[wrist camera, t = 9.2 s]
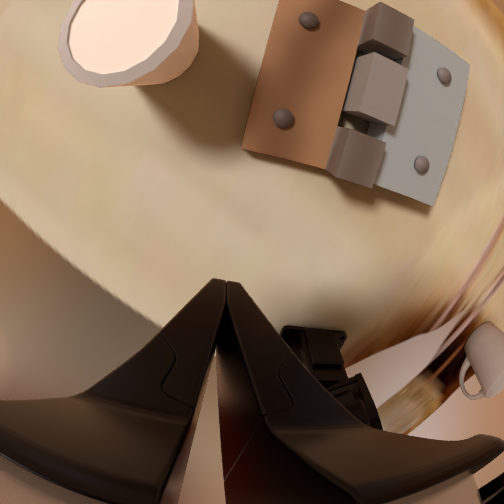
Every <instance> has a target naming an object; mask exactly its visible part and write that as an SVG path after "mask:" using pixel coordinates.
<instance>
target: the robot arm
mask: <svg viewBox="0 0 504 504" xmlns="http://www.w3.org/2000/svg"><path fill="white" fill-rule="evenodd" d="M286 331H288V332H286ZM341 336H342V337H341ZM346 338H347V335H346V333H345V332H343V331H334V330H323V329H314V328H305V327H296V326H284V327H283V328H282V329H281V332H280V334H279V333H278V332H277V331H276V330H275V328H274V327H273V326H272V324H271V323H270V322H269V321H268V319H267V318H266V317H265V315H264V314H263V313H262V311H261V310H260V309H259V307H258V306H257V305H256V304H255V302H254V301H253V300H252V298H251V297H250V296H249V294H248V293H247V292H246V290H245V289H244V288H243V286H242V285H241V284H240V283H238V282H233V281H227V282H226V281H225V280H221V279H216V278H213V279H211V280H210V281H209V282H208V283H207V284H206V285H205V286H204V287H203V288H202V289H201V290H200V291H199V292H198V293H197V294H196V295H195V296H194V297H193V298H192V299H191V300H190V301H189V302H188V303H187V304H186V305H185V306H184V307H183V308H182V309H181V310H180V311H179V312H178V313H177V314H176V315H175V316H174V317H173V318H172V319H171V320H170V321H169V322H168V323H167V324H166V325H165V326H164V327H163V328H162V329H161V330H160V331H159V333H157V334H156V335H155V336H154V337H153V338H152V339H151V341H149V342H148V343H147V344H146V345H145V346H144V347H143V348H142V349H141V350H140V351H138V352H137V353H136V354H134V355H133V356H132V357H131V358H129V359H128V360H127V361H126V362H124V363H123V364H122V365H120V366H119V367H118V368H116V369H115V370H113V371H112V372H111V373H110V374H108V375H107V376H105V377H104V378H103V379H101V380H100V381H99V382H97V383H96V384H94V385H93V386H92V387H90V388H89V389H87V390H85V391H84V392H81V393H79V394H77V395H73V396H69V397H60V398H48V399H30V400H0V504H178V500H179V496H180V492H181V488H182V483H183V479H184V475H185V471H186V467H187V463H188V459H189V454H190V450H191V446H192V442H193V438H194V434H195V430H196V426H197V422H198V417H199V414H200V410H201V406H202V401H203V398H204V394H205V389H206V386H207V382H208V377H209V374H210V370H211V366H212V362H213V358H214V354H215V349H216V366H217V367H216V368H217V390H218V407H219V424H220V439H221V453H222V466H223V477H224V489H225V499H226V504H504V472H503V473H502V474H500V475H499V476H498V477H496V478H495V479H493V480H492V481H491V482H489V483H487V484H486V485H484V486H483V487H481V488H480V489H478V488H477V485H476V482H475V479H474V477H473V474H474V473H476V472H477V471H478V470H480V469H481V468H483V467H484V466H486V465H487V464H488V463H490V462H491V461H492V460H494V459H495V458H496V457H497V456H499V455H500V454H501V453H502V452H503V451H504V441H503V440H502V439H500V438H498V437H494V436H490V435H484V434H478V435H476V436H473V437H471V438H469V439H465V440H460V441H443V440H434V439H427V438H420V437H414V436H408V435H403V434H397V433H392V432H387V431H383V429H382V425H381V421H380V418H379V415H378V412H377V409H376V406H375V404H374V401H373V399H372V397H371V394H370V392H369V390H368V388H367V385H366V383H365V381H364V379H363V377H362V374H361V373H359V374H356V375H355V376H354V377H351V378H348V377H347V374H346V371H345V368H344V365H343V364H344V361H343V358H342V355H341V352H340V349H341V347H342V345H343V343H344V342H345V340H346Z"/></svg>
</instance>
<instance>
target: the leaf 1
mask: <svg viewBox="0 0 504 504" xmlns="http://www.w3.org/2000/svg"><path fill="white" fill-rule="evenodd" d="M413 25H414V19H412V18H410V17H408V16H407V15H405V14H403V13H401V12H399V11H397V10H396V9H394V8H392V7H390V6H388V5H386V4H384V3H382V2H379V3H377V4H376V5H374V6H373V7H371V8H369V9H368V10H366V11H364V10H362V9H359V8H357V7H355V6H352V5H350V4H347V3H345V2H342V1H339V0H279V4H278V7H277V11H276V14H275V18H274V21H273V25H272V28H271V32H270V35H269V39H268V42H267V46H266V50H265V54H264V57H263V61H262V65H261V69H260V72H259V76H258V80H257V84H256V88H255V92H254V96H253V100H252V104H251V108H250V112H249V116H248V120H247V124H246V128H245V132H244V136H243V141H242V145H241V149H245V150H250V151H255V152H259V153H263V154H268V155H272V156H276V157H280V158H284V159H288V160H292V161H296V162H300V163H304V164H307V165H311V166H315V167H318V168H322V169H325V170H326V171H328V172H329V173H331V174H332V175H333V176H335V177H336V178H340V179H343V180H346V181H350V182H353V183H356V184H359V185H362V186H365V187H369V188H372V187H373V184H374V181H375V178H376V175H377V172H378V169H379V166H380V163H381V160H382V156H383V153H384V150H385V146H386V142H384V141H381V140H379V139H376V138H374V137H371V136H369V135H366V134H363V133H361V132H358V131H355V130H353V129H349V128H344V127H339V126H337V125H338V122H339V118H340V114H341V111H342V107H343V103H344V99H345V96H346V92H347V88H348V84H349V80H350V76H351V72H352V68H353V64H354V60H355V56H356V51H359V52H361V53H363V54H369V53H372V52H376V53H378V54H380V55H382V56H384V57H386V58H388V59H390V60H394V59H398V58H403V57H407V56H408V53H409V48H410V42H411V37H412V31H413Z"/></svg>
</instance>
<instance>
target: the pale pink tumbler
mask: <svg viewBox="0 0 504 504" xmlns="http://www.w3.org/2000/svg"><path fill="white" fill-rule="evenodd" d="M198 49H199V31H198V24H197V17H196V10H195V3H194V0H74V1H73V3H72V4H71V6H70V8H69V10H68V12H67V14H66V16H65V18H64V20H63V22H62V24H61V28H60V35H59V43H58V50H59V53H60V57H61V60H62V63H63V67H64V68H65V69H66V70H67V71H68V72H69V73H70V74H71V75H72V76H73V77H74V78H75V79H76V80H77V81H78V82H80V83H84V84H88V85H92V86H96V87H100V88H104V87H116V86H134V85H153V84H164V83H166V82H168V81H170V80H172V79H175V78H177V77H179V76H180V75H181V74H182V73H183V72H184V71H185V70H186V69H188V68H189V67H190V66H191V64H192V62H193V61H194V59H195V57H196V55H197V53H198Z"/></svg>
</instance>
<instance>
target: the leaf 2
mask: <svg viewBox="0 0 504 504" xmlns="http://www.w3.org/2000/svg"><path fill="white" fill-rule="evenodd" d="M469 68H470V65H469V64H468V63H467V62H466V61H464V60H463V59H462V58H461V57H459V56H458V55H457V54H455V53H454V52H453V51H451V50H450V49H449V48H447V47H446V46H444V45H443V44H441V43H440V42H439V41H437V40H436V39H434V38H433V37H431V36H430V35H428V34H427V33H425V32H423V31H422V30H420V29H419V28H417V27H415V26H414V25H413V31H412V37H411V42H410V48H409V53H408V56H407V57H403V58H398V59H394V60H390V59H388V58H386V57H384V56H382V55H380V54H378V53H376V52H372V53H369V54H366V55H363V56H360V57H357V58H355V60H354V64H353V68H352V72H351V76H350V80H349V84H348V88H347V92H346V96H345V99H344V103H343V107H342V112H344V113H347V114H350V115H353V116H355V117H358V118H360V119H363V120H365V121H368V122H370V124H369V128H368V131H367V135H369V136H371V137H374V138H376V139H379V140H381V141H384V142H386V146H385V150H384V153H383V156H382V160H381V163H380V166H379V169H378V172H377V175H376V178H375V181H374V185H377V186H380V187H383V188H386V189H388V190H391V191H394V192H397V193H400V194H402V195H405V196H408V197H410V198H413V199H415V200H418V201H421V202H423V203H426V204H428V205H431V206H433V205H434V202H435V200H436V197H437V194H438V191H439V189H440V186H441V183H442V180H443V177H444V174H445V171H446V168H447V164H448V161H449V158H450V155H451V151H452V148H453V144H454V140H455V137H456V133H457V129H458V125H459V121H460V116H461V112H462V107H463V103H464V98H465V92H466V87H467V81H468V75H469Z"/></svg>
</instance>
